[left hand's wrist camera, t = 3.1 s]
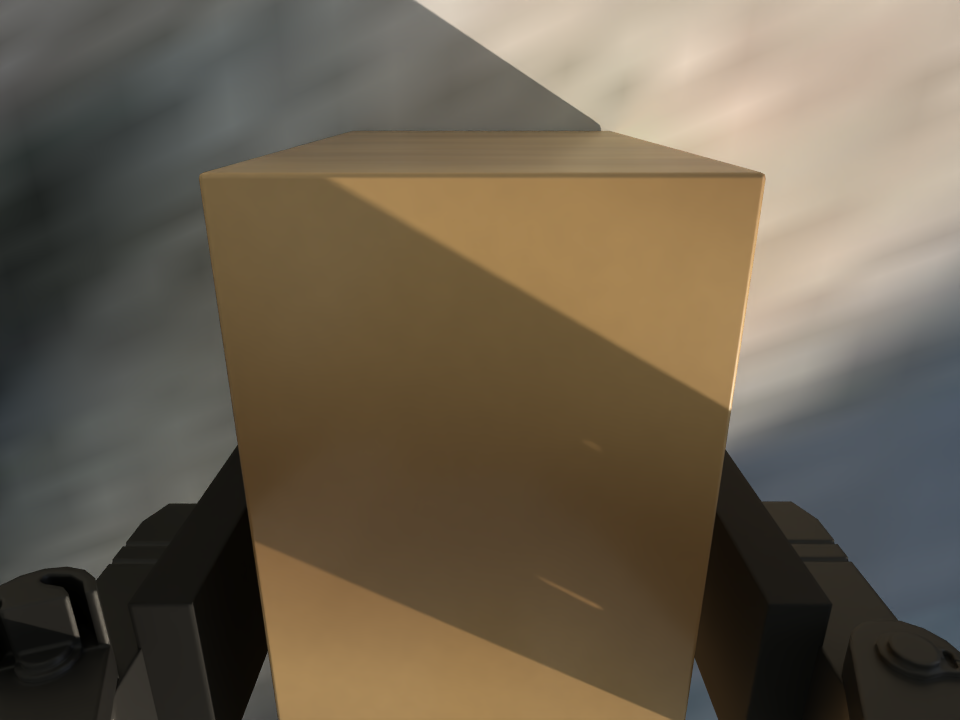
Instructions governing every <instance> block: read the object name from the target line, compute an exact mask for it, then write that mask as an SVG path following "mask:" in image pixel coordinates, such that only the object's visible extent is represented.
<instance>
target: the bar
mask: <svg viewBox="0 0 960 720" xmlns="http://www.w3.org/2000/svg"><path fill="white" fill-rule="evenodd" d="M199 182H200V189H201V196H202V202H203V209H204V216H205V223H206V230H207V237H208V243H209V250H210V257H211V264H212V271H213V278H214V284H215V291H216V298H217V305H218V312H219V319H220V325H221V332H222V339H223V346H224V353H225V360H226V366H227V373H228V380H229V387H230V394H231V401H232V407H233V414H234V421H235V428H236V435H237V442H238V448H239V455H240V462H241V469H242V476H243V483H244V490H245V496H246V503H247V510H248V517H249V524H250V531H251V537H252V544H253V551H254V558H255V565H256V572H257V578H258V585H259V592H260V599H261V606H262V613H263V619H264V626H265V633H266V640H267V647H268V654H269V660H270V667H271V674H272V681H273V688H274V695H275V701H276V708H277V715H278V720H685V717H686V710H687V703H688V697H689V690H690V683H691V676H692V670H693V663H694V656H695V650H696V643H697V636H698V629H699V623H700V616H701V609H702V602H703V596H704V589H705V582H706V575H707V569H708V562H709V555H710V549H711V542H712V535H713V528H714V522H715V515H716V508H717V501H718V495H719V488H720V481H721V475H722V468H723V461H724V454H725V448H726V441H727V434H728V427H729V421H730V414H731V407H732V401H733V394H734V387H735V380H736V374H737V367H738V360H739V353H740V347H741V340H742V333H743V327H744V320H745V313H746V306H747V300H748V293H749V286H750V279H751V273H752V266H753V259H754V253H755V246H756V239H757V232H758V226H759V219H760V212H761V205H762V199H763V192H764V185H765V174H763V173H761V172H757V171H754V170H750V169H746V168H743V167H739V166H735V165H732V164H728V163H724V162H721V161H717V160H714V159H710V158H706V157H703V156H699V155H695V154H692V153H688V152H684V151H681V150H677V149H673V148H670V147H666V146H662V145H659V144H655V143H651V142H648V141H644V140H641V139H637V138H633V137H630V136H626V135H622V134H619V133H615V132H611V131H351V132H347V133H344V134H340V135H336V136H333V137H329V138H326V139H322V140H318V141H315V142H311V143H308V144H304V145H301V146H297V147H293V148H290V149H286V150H283V151H279V152H275V153H272V154H268V155H265V156H261V157H257V158H254V159H250V160H247V161H243V162H240V163H236V164H232V165H229V166H225V167H222V168H218V169H214V170H211V171H207V172H204V173H202V174H200V176H199Z"/></svg>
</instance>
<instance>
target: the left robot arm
mask: <svg viewBox="0 0 960 720" xmlns="http://www.w3.org/2000/svg"><path fill="white" fill-rule="evenodd" d="M267 652H268V647H267V640H266V633H265V626H264V619H263V613H262V606H261V599H260V592H259V585H258V578H257V572H256V565H255V558H254V551H253V544H252V537H251V531H250V524H249V517H248V510H247V503H246V496H245V490H244V483H243V476H242V469H241V462H240V455H239V448H238V445H237V447H236V448H235V450H234V451H233V453H232V454H231V455H230V457H229V458H228V460H227V461H226V463H225V464H224V466H223V467H222V468H221V470H220V471H219V473H218V474H217V476H216V477H215V479H214V480H213V481H212V483H211V484H210V486H209V487H208V489H207V490H206V492H205V493H204V494H203V496H202V497H201V499H200V500H199V502H198V503H197V504H168V505H166V506H165V507H163V508H162V509H161V510H159V511H158V512H156V513H155V514H153V515H152V516H150V517H149V518H147V519H146V520H144V521H143V522H142V523H141V524H140V526H139V527H138V528H137V529H136V531H135V532H134V533H133V534H132V536H131V537H130V538H129V540H128V541H127V542H126V546H123V547H122V548H121V550H120V551H119V552H118V553H117V555H116V556H115V557H114V558H113V562H112V564H109V565H108V566H107V567H106V569H105V570H104V571H103V572H102V574H101V575H100V576H99V577H98V579H97V580H95V578H94V577H93V576H92V575H90V574H89V573H88V572H87V571H85V570H82V569H77V568H71V567H59V568H48V569H42V570H39V571H36V572H32V573H29V574H25V575H22V576H19V577H17V578H15V579H13V580H11V581H9V582H7V583H5V584H3V585H1V586H0V720H242V717H243V715H244V712H245V709H246V707H247V704H248V702H249V699H250V696H251V694H252V691H253V689H254V686H255V683H256V681H257V678H258V675H259V673H260V670H261V668H262V665H263V662H264V660H265V657H266V654H267ZM694 657H695V660H696V662H697V665H698V668H699V670H700V673H701V675H702V678H703V681H704V683H705V686H706V688H707V691H708V694H709V696H710V699H711V702H712V704H713V707H714V709H715V712H716V715H717V717H718V720H960V652H959V651H958V650H957V649H955V648H954V647H953V646H952V645H951V644H950V643H948V642H947V641H946V640H944V639H942V638H940V637H939V636H937V635H935V634H933V633H931V632H929V631H928V630H926V629H924V628H921V627H918V626H915V625H912V624H908V623H905V622H902V621H898V620H897V618H896V617H895V616H894V614H893V613H892V612H891V611H890V609H889V608H888V607H887V606H886V604H885V603H884V602H883V601H882V599H881V598H880V597H879V596H878V594H877V593H876V592H875V591H874V589H873V588H872V587H871V586H870V584H869V583H868V582H867V581H866V579H865V578H864V577H863V576H862V574H861V573H860V572H859V571H858V569H857V568H856V567H855V566H854V564H853V563H852V562H849V561H848V557H847V556H846V554H845V553H844V552H843V550H842V549H841V548H840V547H839V545H838V544H834V539H833V538H832V537H831V535H830V534H829V533H828V532H827V530H826V529H825V528H824V527H823V525H822V524H821V523H820V522H819V520H818V519H816V518H815V517H813V516H812V515H810V514H809V513H808V512H806V511H805V510H803V509H802V508H800V507H799V506H797V505H796V504H794V503H793V502H761V500H760V499H759V497H758V496H757V494H756V493H755V492H754V490H753V489H752V487H751V486H750V484H749V483H748V481H747V480H746V479H745V477H744V476H743V474H742V473H741V471H740V470H739V468H738V467H737V466H736V464H735V463H734V461H733V460H732V458H731V457H730V455H729V454H728V453H727V451H726V450H725V454H724V461H723V468H722V475H721V481H720V488H719V495H718V501H717V508H716V515H715V522H714V528H713V535H712V542H711V549H710V555H709V562H708V569H707V575H706V582H705V589H704V596H703V602H702V609H701V616H700V623H699V629H698V636H697V643H696V650H695V656H694Z"/></svg>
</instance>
